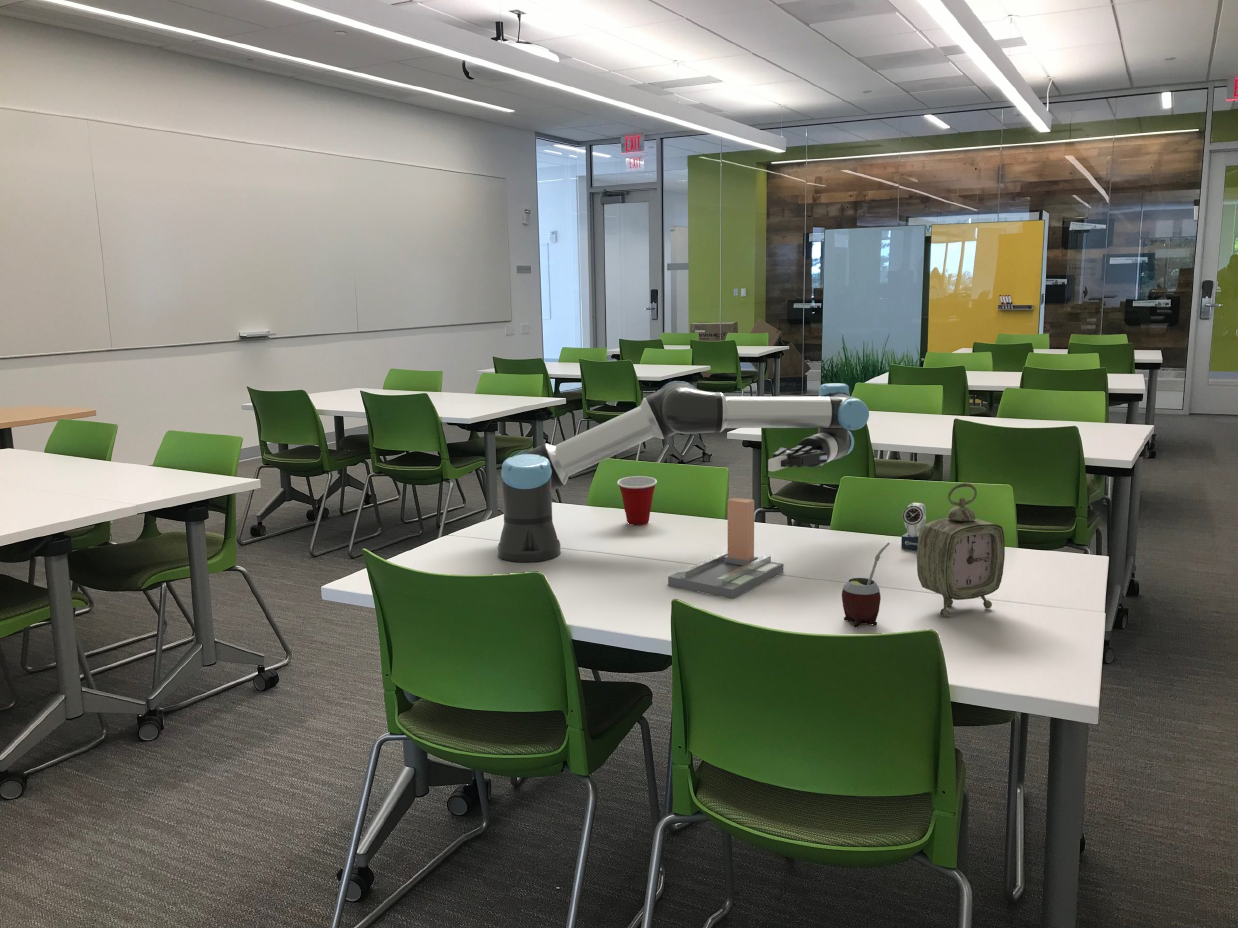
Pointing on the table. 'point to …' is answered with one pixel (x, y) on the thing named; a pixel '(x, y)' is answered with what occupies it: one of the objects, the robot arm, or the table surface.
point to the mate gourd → (862, 598)
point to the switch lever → (740, 531)
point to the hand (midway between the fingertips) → (771, 465)
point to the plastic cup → (637, 498)
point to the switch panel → (725, 576)
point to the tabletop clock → (961, 555)
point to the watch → (913, 525)
